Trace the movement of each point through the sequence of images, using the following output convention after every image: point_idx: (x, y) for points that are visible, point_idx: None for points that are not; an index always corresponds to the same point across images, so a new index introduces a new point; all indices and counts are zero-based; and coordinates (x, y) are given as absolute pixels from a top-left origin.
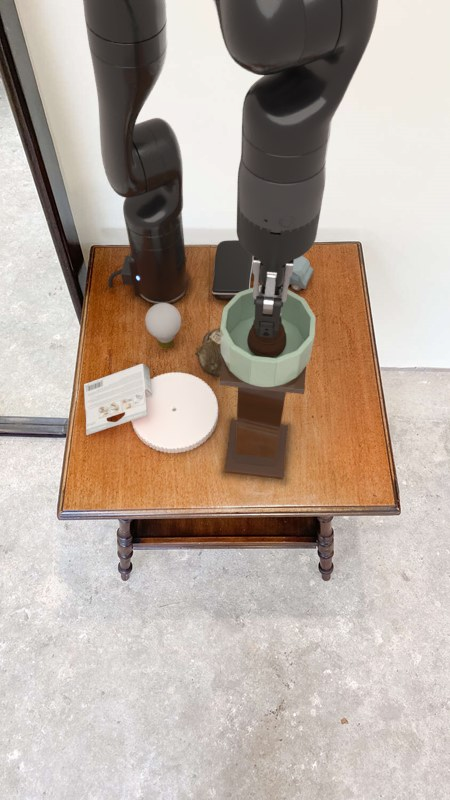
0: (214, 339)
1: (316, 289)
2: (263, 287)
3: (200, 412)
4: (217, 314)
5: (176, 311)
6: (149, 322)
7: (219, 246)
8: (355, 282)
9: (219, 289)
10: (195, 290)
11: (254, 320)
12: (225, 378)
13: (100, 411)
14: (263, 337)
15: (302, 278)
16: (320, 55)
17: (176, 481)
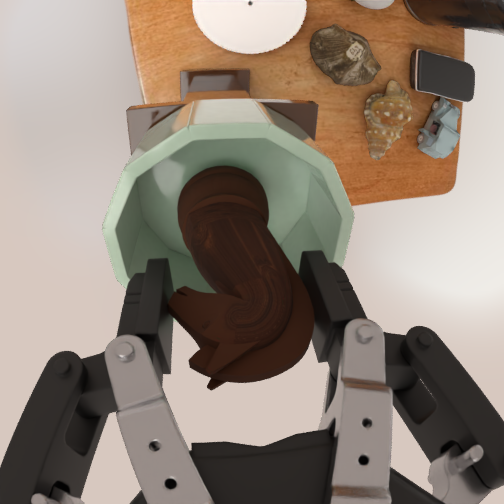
0: (352, 47)
1: (416, 157)
2: (310, 274)
3: (249, 33)
4: (393, 51)
5: (384, 4)
6: None
7: (469, 66)
8: (418, 193)
9: (421, 58)
10: (421, 31)
11: (61, 373)
12: (134, 121)
13: None
14: (189, 236)
15: (427, 149)
16: None
17: (162, 22)
